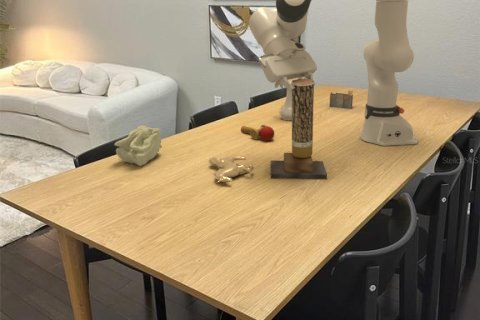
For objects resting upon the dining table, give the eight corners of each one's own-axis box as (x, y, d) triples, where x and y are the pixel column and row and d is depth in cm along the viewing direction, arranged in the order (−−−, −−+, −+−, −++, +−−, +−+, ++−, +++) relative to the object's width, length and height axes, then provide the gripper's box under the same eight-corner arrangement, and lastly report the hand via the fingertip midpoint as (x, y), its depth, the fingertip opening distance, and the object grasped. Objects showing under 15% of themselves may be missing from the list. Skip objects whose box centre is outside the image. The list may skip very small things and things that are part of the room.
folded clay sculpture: (142, 183, 148) (129, 154, 136) (119, 166, 154) (105, 137, 142) (177, 152, 156) (169, 123, 145) (154, 137, 162) (144, 108, 151)
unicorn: (232, 159, 151) (189, 168, 142) (232, 148, 149) (189, 157, 141) (264, 178, 135) (218, 190, 127) (264, 167, 134) (218, 178, 125)
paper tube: (313, 151, 141) (315, 79, 131) (310, 160, 135) (312, 84, 125) (294, 150, 143) (294, 78, 133) (290, 158, 137) (289, 84, 127)
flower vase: (267, 121, 196) (267, 68, 187) (287, 113, 209) (288, 62, 200) (291, 126, 188) (293, 70, 179) (310, 117, 202) (312, 65, 193)
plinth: (322, 165, 144) (323, 151, 143) (326, 179, 133) (327, 164, 131) (270, 164, 146) (270, 151, 144) (270, 178, 134) (271, 163, 133)
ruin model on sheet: (352, 108, 218) (353, 90, 215) (350, 110, 216) (352, 91, 212) (331, 106, 223) (332, 88, 220) (329, 107, 221) (330, 89, 217)
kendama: (235, 137, 179) (264, 142, 165) (236, 122, 178) (265, 126, 164) (249, 137, 184) (278, 141, 170) (249, 122, 183) (279, 125, 169)
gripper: (262, 49, 123) (285, 86, 120) (306, 43, 136) (329, 77, 132) (251, 62, 128) (273, 99, 125) (296, 56, 141) (317, 89, 137)
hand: (302, 88), depth 129 cm, fingers open, 8 cm apart
